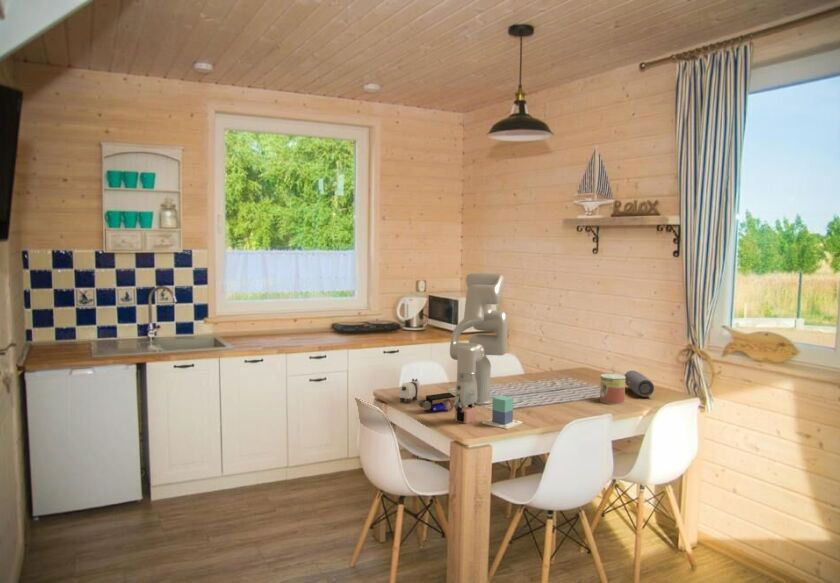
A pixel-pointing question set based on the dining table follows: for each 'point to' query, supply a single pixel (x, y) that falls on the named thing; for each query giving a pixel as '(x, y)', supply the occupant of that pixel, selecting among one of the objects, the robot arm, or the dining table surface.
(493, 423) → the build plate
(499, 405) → the teal brick
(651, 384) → the bluetooth speaker
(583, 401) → the dining table surface
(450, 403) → the figurine character
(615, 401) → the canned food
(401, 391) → the giant panda
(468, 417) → the coral brick
